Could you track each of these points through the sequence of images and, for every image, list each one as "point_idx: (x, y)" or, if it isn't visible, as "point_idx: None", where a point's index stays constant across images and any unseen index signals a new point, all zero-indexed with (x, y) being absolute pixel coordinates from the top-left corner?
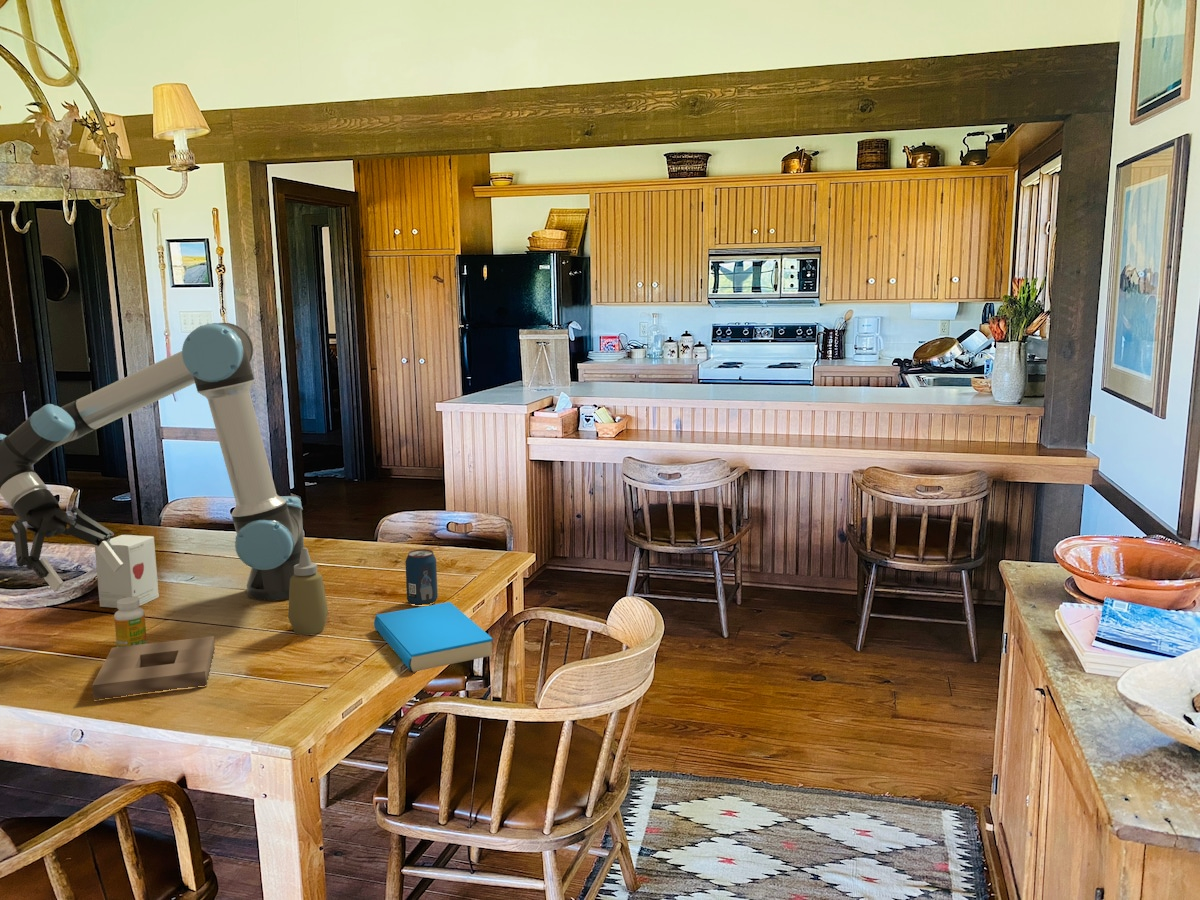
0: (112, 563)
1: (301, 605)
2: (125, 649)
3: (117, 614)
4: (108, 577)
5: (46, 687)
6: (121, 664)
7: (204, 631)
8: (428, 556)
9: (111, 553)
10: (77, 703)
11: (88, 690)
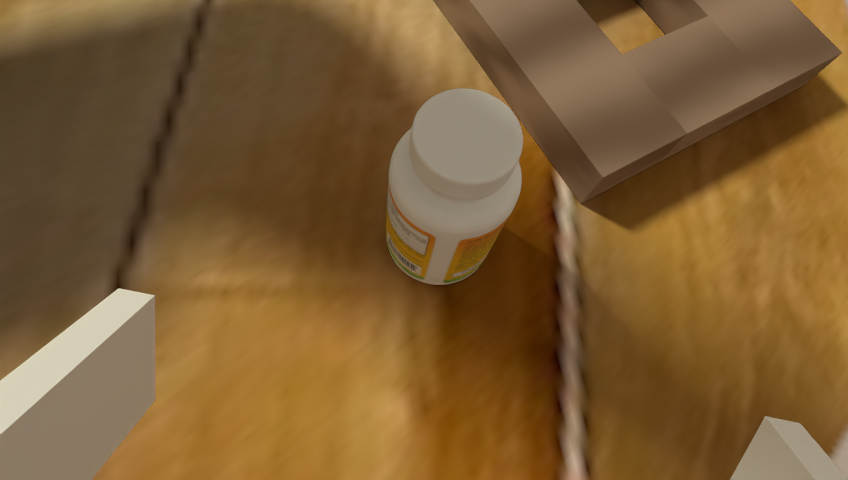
0: (109, 408)
1: None
2: (601, 123)
3: (514, 187)
4: None
5: (805, 276)
6: (702, 63)
7: (258, 80)
8: None
9: (46, 395)
10: (829, 117)
11: (762, 142)
